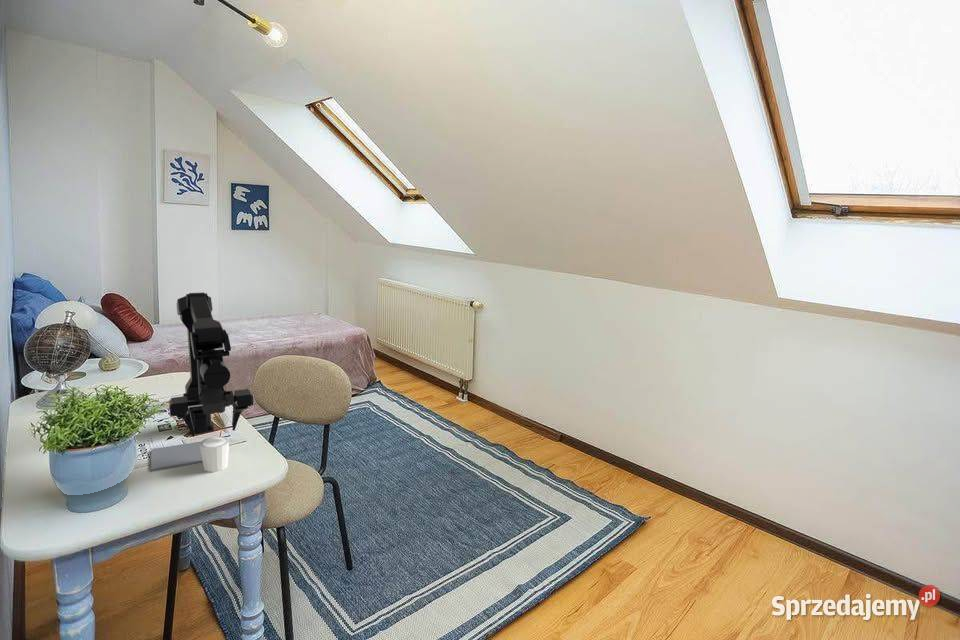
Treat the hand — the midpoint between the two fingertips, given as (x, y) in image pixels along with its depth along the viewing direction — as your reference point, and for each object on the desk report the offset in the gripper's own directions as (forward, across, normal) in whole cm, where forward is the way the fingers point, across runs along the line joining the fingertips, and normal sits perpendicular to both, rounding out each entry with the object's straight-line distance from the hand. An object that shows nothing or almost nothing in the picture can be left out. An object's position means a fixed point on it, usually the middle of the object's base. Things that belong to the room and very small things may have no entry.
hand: (213, 433), depth 138 cm
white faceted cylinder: (+10, 0, 0) cm, 10 cm away
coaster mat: (+9, -8, +9) cm, 16 cm away
